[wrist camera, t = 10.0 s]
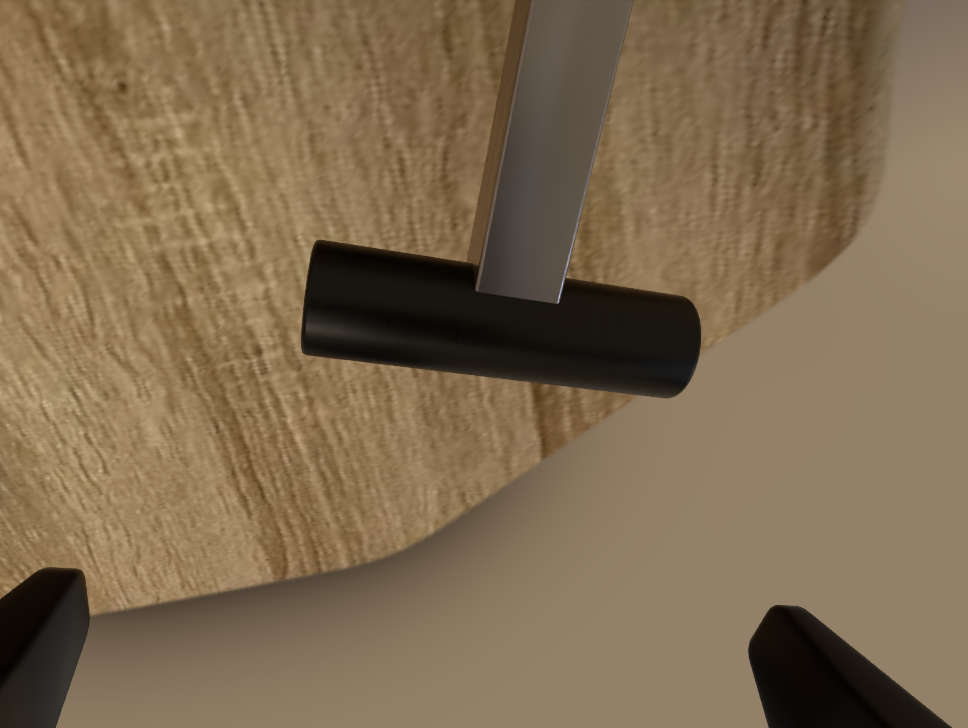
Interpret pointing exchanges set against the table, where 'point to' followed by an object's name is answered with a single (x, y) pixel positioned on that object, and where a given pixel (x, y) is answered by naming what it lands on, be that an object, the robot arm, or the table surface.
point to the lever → (516, 244)
